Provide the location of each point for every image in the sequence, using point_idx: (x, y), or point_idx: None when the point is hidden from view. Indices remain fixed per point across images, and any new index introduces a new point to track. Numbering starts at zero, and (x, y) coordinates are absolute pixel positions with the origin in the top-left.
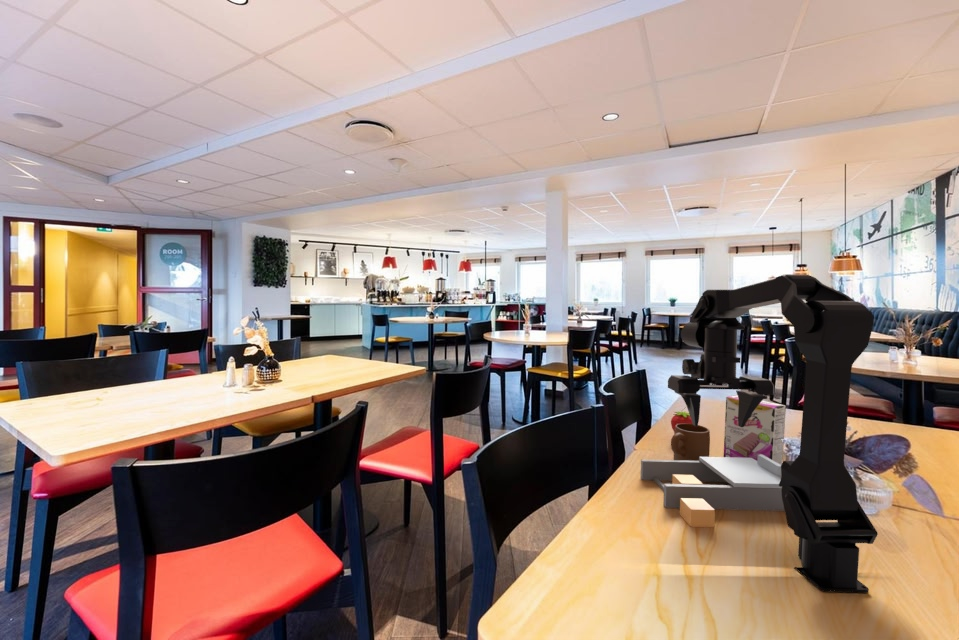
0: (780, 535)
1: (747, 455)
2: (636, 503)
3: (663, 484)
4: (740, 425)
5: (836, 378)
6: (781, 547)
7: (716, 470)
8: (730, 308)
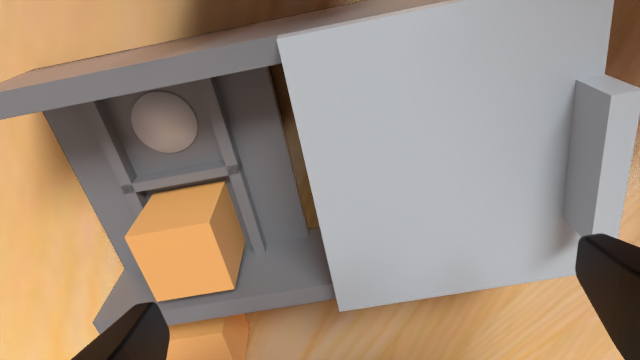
0: (408, 308)
1: None
2: (47, 242)
3: (117, 157)
4: (583, 270)
5: None
6: (381, 348)
7: (315, 203)
8: None
